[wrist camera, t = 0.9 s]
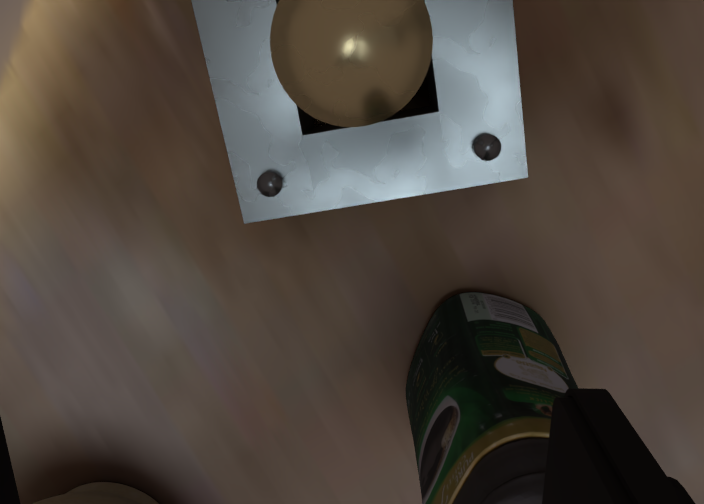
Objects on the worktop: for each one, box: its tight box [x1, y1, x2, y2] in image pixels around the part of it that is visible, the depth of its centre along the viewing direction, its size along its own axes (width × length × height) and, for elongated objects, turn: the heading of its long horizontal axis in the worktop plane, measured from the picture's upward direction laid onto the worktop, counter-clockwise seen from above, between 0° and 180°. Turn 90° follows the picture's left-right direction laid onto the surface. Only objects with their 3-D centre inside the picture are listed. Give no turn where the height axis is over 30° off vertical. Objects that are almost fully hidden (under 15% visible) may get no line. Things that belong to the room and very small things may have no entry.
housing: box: [191, 0, 528, 224], centre depth 28 cm, size 14×14×6 cm
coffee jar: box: [406, 292, 578, 504], centre depth 27 cm, size 10×8×19 cm
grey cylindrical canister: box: [270, 0, 433, 127], centre depth 25 cm, size 6×6×12 cm
